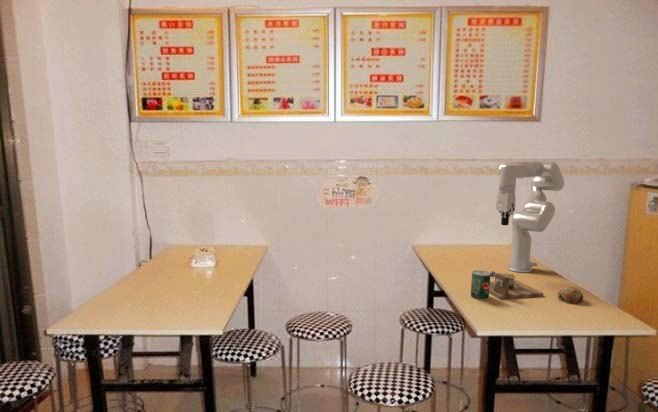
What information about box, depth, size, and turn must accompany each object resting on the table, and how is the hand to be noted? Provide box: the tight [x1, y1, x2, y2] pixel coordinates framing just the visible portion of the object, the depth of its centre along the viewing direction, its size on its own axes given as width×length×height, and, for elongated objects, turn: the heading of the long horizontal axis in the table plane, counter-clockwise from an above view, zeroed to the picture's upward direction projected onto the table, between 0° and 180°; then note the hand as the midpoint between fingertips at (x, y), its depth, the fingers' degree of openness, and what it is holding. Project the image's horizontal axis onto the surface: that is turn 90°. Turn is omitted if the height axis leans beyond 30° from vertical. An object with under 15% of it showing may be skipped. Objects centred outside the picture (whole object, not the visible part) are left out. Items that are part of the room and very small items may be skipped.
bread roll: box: [557, 286, 584, 305], centre depth 208 cm, size 10×10×8 cm
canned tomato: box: [470, 270, 491, 301], centre depth 210 cm, size 8×8×11 cm
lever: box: [489, 271, 516, 289], centre depth 225 cm, size 16×6×5 cm, turn 16°
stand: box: [489, 272, 544, 300], centre depth 219 cm, size 22×20×10 cm
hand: (504, 224), depth 238 cm, fingers closed
